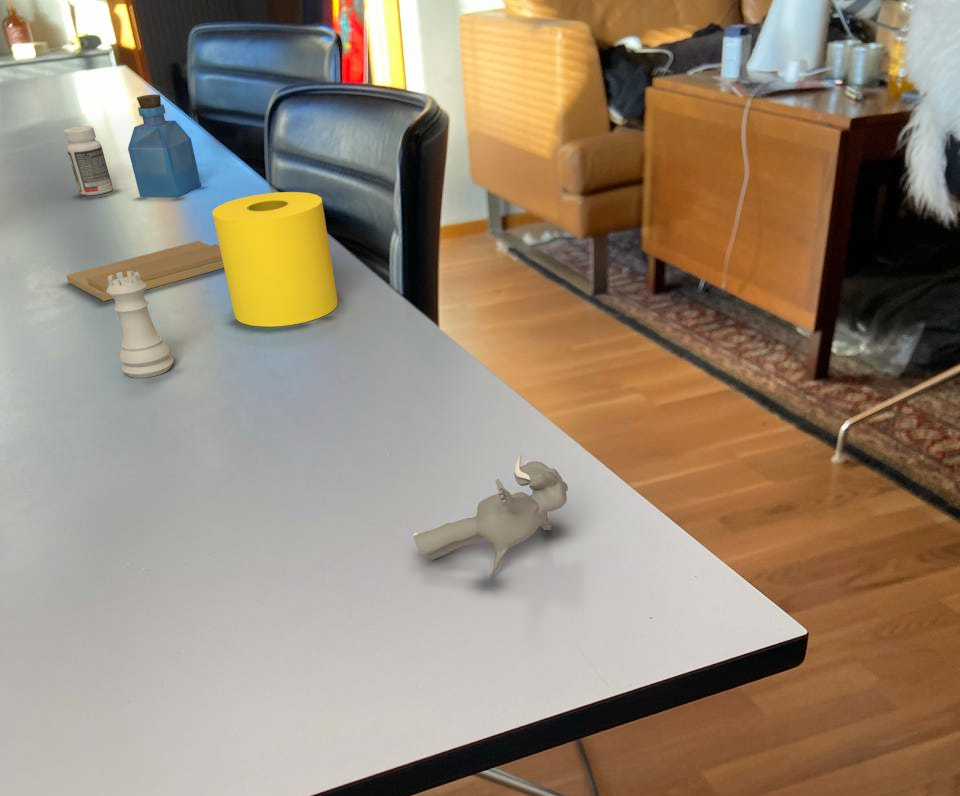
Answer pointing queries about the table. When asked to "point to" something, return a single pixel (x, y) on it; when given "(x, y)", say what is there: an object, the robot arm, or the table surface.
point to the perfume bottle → (161, 153)
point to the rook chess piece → (137, 329)
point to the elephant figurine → (502, 515)
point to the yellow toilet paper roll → (276, 258)
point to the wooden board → (153, 268)
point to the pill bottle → (87, 161)
